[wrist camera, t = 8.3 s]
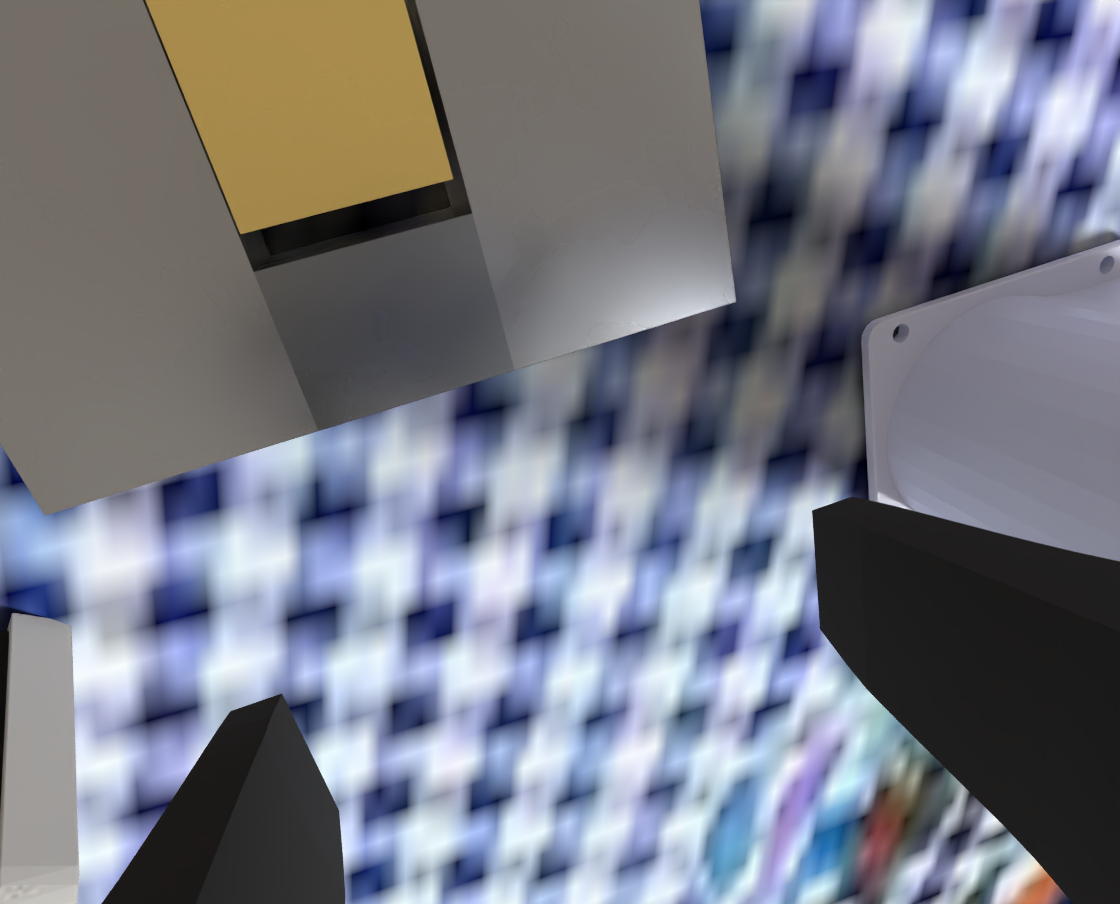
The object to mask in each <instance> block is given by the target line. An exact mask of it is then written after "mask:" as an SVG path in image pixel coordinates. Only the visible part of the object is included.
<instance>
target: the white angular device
mask: <svg viewBox="0 0 1120 904" xmlns="http://www.w3.org/2000/svg"><path fill="white" fill-rule="evenodd" d="M78 883H79V852H78V819H77V786H76V753H75V720H74V687H73V655H72V626H69V625H67V624H64V623H61V622H58V621H56V620H53V619H50V618H43V617H37V616H31V615H24V614H18V613H12V615H11V619H10V622H9V626H8V629H7V631H0V904H77V897H78Z"/></svg>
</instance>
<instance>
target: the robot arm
mask: <svg viewBox="0 0 1120 904" xmlns="http://www.w3.org/2000/svg"><path fill="white" fill-rule="evenodd" d="M898 325H899V332H898V334H897V335H896V337H895V338H893V332H894V330H895V328H896V327H897V326H898ZM861 346H862V366H863V386H864V407H865V427H866V448H867V468H868V488H869V500H865V499H860V498H854V497H850V498H847V499H844V500H841V501H838V502H836V503H833V504H830V505H827V506H824V507H821V508H818V509H815V510H812V514H813V529H814V544H815V559H816V574H817V589H818V604H819V619H820V629H821V631H822V632H823V633H824V635H825V636H826V637H827V639H828V640H829V641H830V643H831V644H832V645H833V647H834V648H835V649H836V651H837V652H838V653H839V655H840V656H841V657H842V659H843V660H844V661H845V663H846V664H847V665H848V666H849V668H850V669H851V670H852V671H853V673H854V674H855V675H856V676H857V677H858V679H859V680H860V681H861V682H862V684H863V685H864V686H865V687H866V689H867V690H868V691H869V692H870V693H871V694H872V695H873V696H874V697H875V698H876V699H877V700H878V701H879V702H880V703H881V704H882V705H883V706H884V707H885V708H886V709H887V710H888V711H889V712H890V713H891V714H892V715H893V716H894V717H895V718H896V719H897V720H898V721H899V722H900V723H901V724H902V725H903V726H904V727H905V728H906V729H907V730H908V731H909V732H910V733H911V734H912V735H913V736H914V737H915V738H916V739H917V740H918V741H919V742H920V743H921V744H922V745H923V746H924V747H925V748H926V749H927V750H928V751H929V752H930V753H931V754H932V755H933V756H934V757H935V758H936V759H937V760H938V761H939V762H940V763H941V764H942V765H943V766H944V767H945V768H946V769H947V770H948V771H949V772H950V773H951V774H952V775H953V776H954V777H955V778H956V779H957V780H958V781H959V782H960V783H961V784H962V785H963V786H964V787H965V788H966V789H967V790H968V791H969V792H970V793H971V794H972V795H973V796H974V797H975V798H976V799H977V800H978V801H979V802H980V803H982V804H983V805H984V806H985V807H986V808H987V809H988V810H989V811H990V812H991V813H992V814H993V815H994V816H995V817H996V818H997V819H998V820H999V821H1000V822H1001V823H1002V824H1003V825H1004V826H1005V827H1006V828H1007V830H1008V831H1009V832H1010V833H1011V834H1012V835H1013V836H1014V837H1015V838H1016V839H1017V840H1018V841H1019V842H1020V843H1021V844H1022V845H1023V847H1024V848H1025V849H1026V850H1027V851H1028V852H1029V853H1030V854H1031V855H1032V856H1033V857H1034V858H1035V859H1036V860H1037V862H1038V863H1039V864H1040V865H1041V866H1042V867H1043V869H1044V870H1045V871H1046V872H1047V873H1048V874H1049V876H1050V877H1051V878H1052V879H1053V880H1054V882H1055V883H1056V884H1057V885H1058V886H1059V887H1060V889H1061V890H1062V891H1063V892H1064V893H1065V894H1066V896H1067V897H1068V898H1069V899H1070V900H1071V901H1072V903H1073V904H1120V239H1119V240H1116V241H1113V242H1110V243H1107V244H1104V245H1101V246H1098V247H1095V248H1092V249H1089V250H1086V251H1083V252H1080V253H1076V254H1073V255H1070V256H1067V257H1064V258H1061V259H1058V260H1055V261H1052V262H1049V263H1046V264H1043V265H1040V266H1037V267H1033V268H1030V269H1027V270H1024V271H1021V272H1018V273H1015V274H1012V275H1009V276H1006V277H1003V278H1000V279H997V280H994V281H990V282H987V283H984V284H981V285H978V286H975V287H972V288H969V289H966V290H963V291H960V292H957V293H954V294H951V295H947V296H944V297H941V298H938V299H935V300H932V301H929V302H926V303H923V304H920V305H917V306H914V307H911V308H908V309H904V310H901V311H898V312H895V313H892V314H889V315H886V316H883V317H880V318H877V319H875V320H873V321H871V322H870V323H869V324H868V325H867V326H866V327H865V329H864V331H863V333H862V339H861ZM102 904H345V885H344V869H343V854H342V842H341V830H340V818H339V810H338V808H337V806H336V804H335V802H334V800H333V798H332V795H331V793H330V791H329V789H328V787H327V785H326V783H325V781H324V779H323V777H322V775H321V773H320V771H319V769H318V767H317V765H316V763H315V761H314V758H313V756H312V754H311V752H310V750H309V748H308V746H307V744H306V742H305V740H304V738H303V736H302V734H301V732H300V730H299V728H298V726H297V723H296V721H295V719H294V717H293V715H292V713H291V711H290V709H289V707H288V705H287V703H286V701H285V699H284V697H283V695H282V694H279V695H277V696H274V697H271V698H268V699H265V700H262V701H259V702H256V703H253V704H250V705H248V706H245V707H242V708H239V709H236V710H233V711H230V713H229V714H228V716H227V717H226V718H225V720H224V721H223V723H222V724H221V726H220V727H219V729H218V730H217V732H216V733H215V735H214V736H213V738H212V739H211V741H210V742H209V744H208V745H207V747H206V748H205V750H204V751H203V753H202V755H201V756H200V758H199V759H198V761H197V762H196V764H195V765H194V767H193V768H192V770H191V772H190V773H189V775H188V776H187V778H186V779H185V781H184V782H183V784H182V785H181V787H180V789H179V790H178V792H177V793H176V795H175V796H174V798H173V799H172V801H171V802H170V804H169V805H168V807H167V808H166V810H165V811H164V813H163V814H162V816H161V817H160V819H159V820H158V822H157V823H156V825H155V826H154V828H153V829H152V831H151V832H150V834H149V835H148V837H147V838H146V840H145V841H144V843H143V844H142V846H141V847H140V849H139V850H138V852H137V853H136V855H135V856H134V858H133V859H132V861H131V862H130V864H129V865H128V867H127V868H126V870H125V871H124V873H123V874H122V876H121V877H120V879H119V880H118V882H117V883H116V884H115V886H114V887H113V889H112V890H111V891H110V893H109V894H108V896H107V897H106V898H105V900H104V901H103V903H102Z"/></svg>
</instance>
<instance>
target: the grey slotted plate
mask: <svg viewBox="0 0 1120 904" xmlns="http://www.w3.org/2000/svg"><path fill="white" fill-rule="evenodd" d="M404 1H405V5H406V8H407V12H408V15H409V19H410V23H411V26H412V30H413V34H414V37H415V41H416V45H417V48H418V52H419V56H420V59H421V63H422V67H423V70H424V74H425V77H426V81H427V85H428V88H429V92H430V96H431V99H432V103H433V107H434V110H435V114H436V118H437V121H438V125H439V129H440V132H441V136H442V139H443V143H444V147H445V150H446V154H447V158H448V161H449V165H450V169H451V172H452V176H453V179H452V180H448V181H444V184H445V188H446V191H447V195H448V198H449V202H450V206H451V207H450V208H446V209H443V210H439V211H435V212H431V213H428V214H424V215H420V216H416V217H413V218H409V219H405V220H401V221H397V222H394V223H390V224H386V225H382V226H379V227H375V228H371V229H367V230H364V231H360V232H356V233H352V234H349V235H345V236H341V237H337V238H334V239H330V240H326V241H322V242H318V243H315V244H311V245H307V246H303V247H300V248H296V249H292V250H288V251H285V252H281V253H277V254H273V255H270V253H269V250H268V248H267V245H266V242H265V240H264V237H263V235H262V232H261V230H260V229H259V230H255V231H251V232H248V233H244V234H240V232H239V229H238V227H237V224H236V222H235V219H234V217H233V215H232V212H231V210H230V207H229V205H228V202H227V200H226V197H225V195H224V192H223V190H222V187H221V185H220V183H219V180H218V178H217V175H216V173H215V170H214V168H213V165H212V163H211V160H210V158H209V155H208V153H207V151H206V148H205V146H204V143H203V141H202V138H201V136H200V133H199V131H198V128H197V126H196V123H195V121H194V118H193V116H192V114H191V111H190V109H189V106H188V104H187V101H186V99H185V96H184V94H183V91H182V89H181V86H180V84H179V82H178V79H177V77H176V74H175V72H174V69H173V67H172V64H171V62H170V59H169V57H168V54H167V52H166V50H165V47H164V45H163V42H162V40H161V37H160V35H159V32H158V30H157V27H156V25H155V22H154V20H153V18H152V15H151V13H150V10H149V8H148V5H147V3H146V0H0V444H1V445H2V447H3V449H4V450H5V452H6V453H7V455H8V457H9V458H10V460H11V461H12V463H13V465H14V466H15V468H16V470H17V471H18V473H19V474H20V476H21V478H22V479H23V481H24V482H25V484H26V486H27V487H28V489H29V490H30V492H31V494H32V495H33V497H34V499H35V500H36V502H37V503H38V505H39V507H40V508H41V510H42V511H43V513H44V515H49V514H52V513H55V512H58V511H61V510H65V509H68V508H71V507H74V506H78V505H81V504H84V503H87V502H91V501H94V500H97V499H100V498H103V497H107V496H110V495H113V494H116V493H120V492H123V491H126V490H129V489H133V488H136V487H139V486H142V485H145V484H149V483H152V482H155V481H158V480H162V479H165V478H168V477H171V476H175V475H178V474H181V473H184V472H187V471H191V470H194V469H197V468H200V467H204V466H207V465H210V464H213V463H217V462H220V461H223V460H226V459H229V458H233V457H236V456H239V455H242V454H246V453H249V452H252V451H255V450H259V449H262V448H265V447H268V446H271V445H275V444H278V443H281V442H284V441H288V440H291V439H294V438H297V437H301V436H304V435H307V434H310V433H313V432H317V431H320V430H323V429H326V428H330V427H333V426H336V425H339V424H343V423H346V422H349V421H352V420H355V419H359V418H362V417H365V416H368V415H372V414H375V413H378V412H381V411H385V410H388V409H391V408H394V407H397V406H401V405H404V404H407V403H410V402H414V401H417V400H420V399H423V398H427V397H430V396H433V395H436V394H439V393H443V392H446V391H449V390H452V389H456V388H459V387H462V386H465V385H469V384H472V383H475V382H478V381H481V380H485V379H488V378H491V377H494V376H498V375H501V374H504V373H507V372H511V371H514V370H517V369H520V368H523V367H527V366H530V365H533V364H536V363H540V362H543V361H546V360H549V359H553V358H556V357H559V356H562V355H565V354H569V353H572V352H575V351H578V350H582V349H585V348H588V347H591V346H595V345H598V344H601V343H604V342H608V341H611V340H614V339H617V338H620V337H624V336H627V335H630V334H633V333H637V332H640V331H643V330H646V329H650V328H653V327H656V326H659V325H662V324H666V323H669V322H672V321H675V320H679V319H682V318H685V317H688V316H692V315H695V314H698V313H701V312H704V311H708V310H711V309H714V308H717V307H721V306H724V305H727V304H730V303H734V302H736V297H735V288H734V280H733V272H732V264H731V256H730V248H729V240H728V232H727V224H726V216H725V207H724V199H723V191H722V183H721V175H720V167H719V159H718V151H717V143H716V135H715V127H714V118H713V110H712V102H711V94H710V86H709V78H708V70H707V62H706V54H705V46H704V37H703V29H702V21H701V13H700V5H699V0H404Z"/></svg>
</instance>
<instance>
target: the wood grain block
mask: <svg viewBox="0 0 1120 904" xmlns="http://www.w3.org/2000/svg"><path fill="white" fill-rule="evenodd" d="M146 3H147V5H148V8H149V10H150V13H151V15H152V18H153V20H154V22H155V25H156V27H157V30H158V32H159V35H160V37H161V40H162V42H163V45H164V47H165V50H166V52H167V54H168V57H169V59H170V62H171V64H172V67H173V69H174V72H175V74H176V77H177V79H178V82H179V84H180V86H181V89H182V91H183V94H184V96H185V99H186V101H187V104H188V106H189V109H190V111H191V114H192V116H193V118H194V121H195V123H196V126H197V128H198V131H199V133H200V136H201V138H202V141H203V143H204V146H205V148H206V151H207V153H208V155H209V158H210V160H211V163H212V165H213V168H214V170H215V173H216V175H217V178H218V180H219V183H220V185H221V187H222V190H223V192H224V195H225V197H226V200H227V202H228V205H229V207H230V210H231V212H232V215H233V217H234V219H235V222H236V224H237V227H238V229H239V232H240V234H244V233H248V232H251V231H255V230H259V229H263V228H267V227H271V226H274V225H278V224H282V223H286V222H290V221H294V220H298V219H301V218H305V217H309V216H313V215H317V214H321V213H325V212H328V211H332V210H336V209H340V208H344V207H348V206H352V205H355V204H359V203H363V202H367V201H371V200H375V199H379V198H382V197H386V196H390V195H394V194H398V193H402V192H406V191H409V190H413V189H417V188H421V187H425V186H429V185H433V184H436V183H440V182H444V181H448V180H452V179H453V176H452V172H451V169H450V165H449V161H448V158H447V154H446V150H445V147H444V143H443V139H442V136H441V132H440V129H439V125H438V121H437V118H436V114H435V110H434V107H433V103H432V99H431V96H430V92H429V88H428V85H427V81H426V77H425V74H424V70H423V67H422V63H421V59H420V56H419V52H418V48H417V45H416V41H415V37H414V34H413V30H412V26H411V23H410V19H409V15H408V12H407V8H406V5H405V1H404V0H146Z"/></svg>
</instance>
